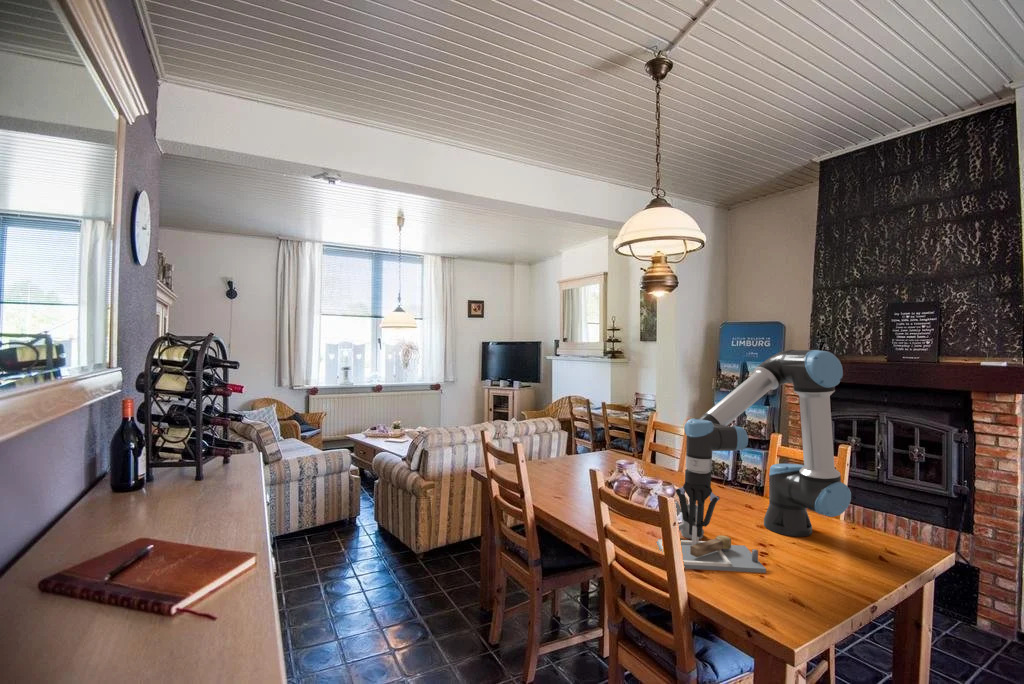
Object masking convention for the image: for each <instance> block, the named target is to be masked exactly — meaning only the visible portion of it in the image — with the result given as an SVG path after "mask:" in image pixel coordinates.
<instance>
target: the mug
mask: <svg viewBox="0 0 1024 684" xmlns="http://www.w3.org/2000/svg"><path fill="white" fill-rule="evenodd" d="M675 504H676V508H677V517H678V516H679V515H680V513H681V515H680V516H681V523H679V524H678V525H679V531H680V534H681V536H682V537H684V538H685V539H690V540H692V535H690V534H689V523H688V522H686V521H684V520H683V516H682V511H681V506H680V503H679V502H678V501H674V505H675ZM689 505H690V503H687V507H688V512H689ZM697 510H698V504H696V518H695V521H696V522H695V524H697ZM704 534H705V530H704V529H702V536H701V537H699V540H702V539H703V537H704Z"/></svg>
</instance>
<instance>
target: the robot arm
mask: <svg viewBox="0 0 1024 684" xmlns="http://www.w3.org/2000/svg"><path fill="white" fill-rule="evenodd" d="M843 371H844V370H843V366H842V363H841V361H840V359H839V358H838V357H837V356H835V354H834V353H832V352H830V351H826V350H820V349H786V350H783V351H780V352H777V353H775V354H773V355H772V356H770V357H769V358H767V359H766V360H764V361H763V362H760V364H759V365H757V366H756V367H755V368H754V369H753V374H751V375H750V376H749V377H747V379H745V380H744V381H743V382H741V383H740V384H739V385H738V386H737V387H736V388H734V389H733V390H732V391H730V392H729V393H728V394H727V395H726V396H725V397H723V398H722V399H720V401H719V402H717V403H716V404H714V405H713V406H712V407H711V408H710V409H709V410H707V411H706V412H705V413H704V414H703V415H701V416H700V417H695V418H694V417H693V418H689V419H688V420H686V422H685V423H684V427H683V430H684V434H685V435H686V443H685V445H686V446H685V447H686V448H685V450H686V451H685V452H686V453H685V468H686V469H685V472H684V483H683V485H682V486H681V487H678V488H676V489H675V492H676V495H677V497H678V501H679V505H680V508H681V511H682V512H681V514H682V516H683V520H684V521H686V522H688V523H689V534H690V535H692V539H691V541H692V545H696V544H699V541H700V539H699V537H701V536H702V529H703V527H705V528H706V527H707V526H708V525H709V524H710V522H711V520H712V516H713V513H714V511H715V507H716V504H717V502H719V501H720V500H721V498H720V496H718V495H715V494H714V492H713V489H712V486H711V485H712V473H711V471H712V467H713V465H712V463H713V462H712V461H713V452H727V451H728V452H729V451H730V452H731V451H732V452H736V451H743V450H744V449H746V448H747V446H748V444H749V436H748V433H747V431H746V430H745V428H743V427H741V426H734V425H731V426H728V425H730V424H731V423H732V422H733V421H735V420H736V419H737V418H738V417H739V416H741V415H742V414H743V413H744V412H745V411H746V410H748V409H749V408H750V407H751V406H753V405H754V404H755V403H756V402H757V401H759V400H760V399H761V398H762V397H764V395H766V394H767V393H768V392H770V390H771V391H772V390H776V389H778V388H779V387H780V386H782V385H786V384H792V387H793V392H794V393H796V395H798V397H799V399H798V400H799V411H800V425H801V439H802V440H801V441H802V452H803V453H802V455H803V464H797V463H774V464H772V465H771V466H770V467H769V473H768V489H769V490H768V492H769V499H768V501H769V505H768V507H767V510H766V512H765V514H764V517H763V526H764V527H765V528H766V529H767V530H769V531H771V532H774V533H777V534H780V535H785V536H789V537H800V538H801V537H809V536H811V535H812V534H813V525H812V522H811V519H810V517H809V513H808V511H807V509H808V510H810V511H812V512H815V513H817V514H819V515H824V516H827V517H831V518H833V517H837V516H841V515H842V514H843V513H844V512H846V510H847V509H848V507H849V506H850V504H851V500H852V492H851V489H850V488H849V486H848V485H847V484H845V483H844V482H842V476H841V475H842V474H841V472H840V471H839V470H837V469H836V467H835V458H834V457H835V456H834V455H835V454H834V439H833V426H832V412H831V397H830V396H832V394H833V393H835V392H836V386H838V385H839V384H840V382H841V380H842V379H843V376H844V372H843ZM686 495H687V496H686ZM686 497H688V502H689V503H688V502H687V498H686ZM708 498H709V501H710V502H709V504H708V507H707V510H706V514H705V503H706V502H705V501H706V500H707V499H708ZM687 504H690V505H689V512H688V507H687ZM696 505H698V510H697V524H695V522H696V521H695V518H696ZM704 515H705V516H704ZM703 530H704V529H703Z"/></svg>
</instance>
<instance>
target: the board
mask: <svg viewBox="0 0 1024 684" xmlns="http://www.w3.org/2000/svg"><path fill="white" fill-rule="evenodd" d="M662 539H663V538H662ZM662 539H661V538H658V539H657V541H655V544H656V543H657V545H658V547H659V550H660V551H661V549H662V552H663V546H662ZM680 540H681V546H682V553H683V561H684V566H685V569H686V570H707V571H725V572H741V573H758V574H759V573H761V574H762V573H764V574H765V573H767V568H766V566H764V565H763V564H762V563H761V562H760V561H759V550H758V549H751V550H750V549H749V548H748V547H747V546H746V545H739V544H731V548H730V549H721V550H718V551H715V552H712V553H709V554H706V555H703V556H700V557H695V556H693V555H691V554H690V546H692V540H688V539H680ZM705 541H706V540H703V541H702V540H699V543H702V542H705ZM659 550H658V551H659Z"/></svg>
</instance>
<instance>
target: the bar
mask: <svg viewBox="0 0 1024 684" xmlns="http://www.w3.org/2000/svg"><path fill="white" fill-rule="evenodd" d="M704 541H705V542H702V543H699V544H696V545H692V546H690V554H691V555H693V556H695V557H700V556H703V555H706V554H709V553H712V552H715V551H718V550H721V549H730V548H731V545H732V538H730V537H729V536H726V535H716V537H715V538H712V539H709V540H704Z"/></svg>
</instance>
